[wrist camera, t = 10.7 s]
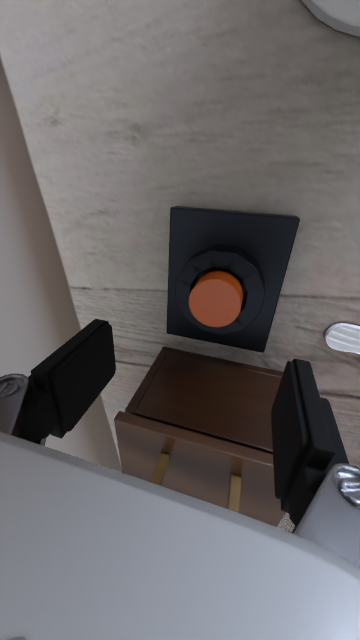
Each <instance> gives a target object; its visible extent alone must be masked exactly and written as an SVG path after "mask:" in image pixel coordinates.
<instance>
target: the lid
mask: <svg viewBox="0 0 360 640" xmlns="http://www.w3.org/2000/svg"><path fill="white" fill-rule="evenodd" d="M114 422H115V429H116V435H117V441H118V448H119V454H120V460H121V466H122V473H125V474H128V475H131V476H134V477H136V478H139V479H142V480H145V481H148V482H151V483H154V484H157V485H160V486H163V487H166V488H168V489H171V490H174V491H177V492H180V493H183V494H186V495H188V496H191V497H194V498H197V499H200V500H203V501H206V502H209V503H211V504H214V505H217V506H220V507H223V508H226V509H229V510H232V511H234V512H237V513H240V514H243V515H245V516H248V517H251V518H253V519H256V520H259V521H262V522H264V523H267V524H270V525H272V526H275V527H277V526H278V524H279V522H280V521H281V519H282V517H283V516H284V514H285V512H284V511H281V501H280V499H277V498H276V497H275V488H274V466H273V455H272V454H269V453H265V452H262V451H258V450H255V449H251V448H248V447H244V446H241V445H237V444H234V443H230V442H227V441H223V440H220V439H216V438H213V437H209V436H206V435H202V434H199V433H195V432H192V431H188V430H184V429H181V428H177V427H174V426H170V425H167V424H163V423H160V422H156V421H153V420H149V419H146V418H142V417H139V416H135V415H132V414H128V413H125V412H121V411H119V412H118V414H117V415H116V417H115V419H114Z"/></svg>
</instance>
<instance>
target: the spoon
mask: <svg viewBox="0 0 360 640" xmlns="http://www.w3.org/2000/svg"><path fill="white" fill-rule="evenodd" d="M324 338H325V340H326V343H327V345H329V346H330V348H333V349H334V350H339V351H341V350H342V351H345V352H347V351H349V352H353V353H357V354H360V326H357V325H352V324H347V323H338V324H334V325H333V326H331V327H330V328H329V329H328V330H327V331H326V333H325V337H324Z"/></svg>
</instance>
